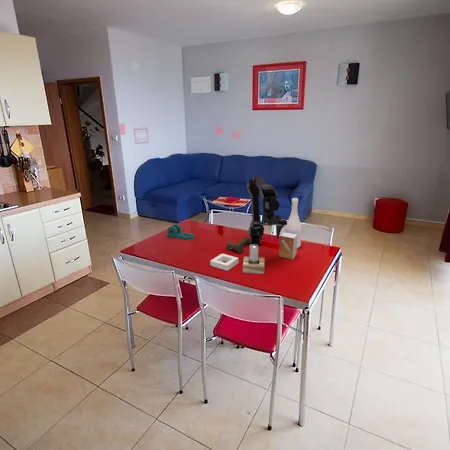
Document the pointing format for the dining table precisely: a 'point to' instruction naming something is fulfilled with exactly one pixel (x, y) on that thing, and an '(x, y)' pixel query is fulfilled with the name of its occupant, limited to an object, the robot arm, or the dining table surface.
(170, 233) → the bracket
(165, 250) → the dining table surface
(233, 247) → the brown bone-shaped piece
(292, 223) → the wine bottle
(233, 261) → the white square frame
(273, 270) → the dining table surface
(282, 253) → the small box
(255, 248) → the grey peg
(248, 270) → the socket block
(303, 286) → the dining table surface
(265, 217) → the robot arm
